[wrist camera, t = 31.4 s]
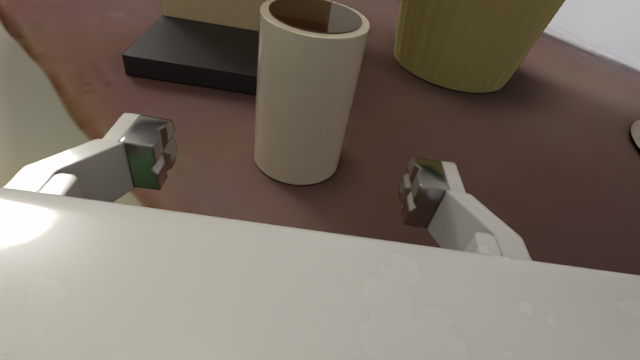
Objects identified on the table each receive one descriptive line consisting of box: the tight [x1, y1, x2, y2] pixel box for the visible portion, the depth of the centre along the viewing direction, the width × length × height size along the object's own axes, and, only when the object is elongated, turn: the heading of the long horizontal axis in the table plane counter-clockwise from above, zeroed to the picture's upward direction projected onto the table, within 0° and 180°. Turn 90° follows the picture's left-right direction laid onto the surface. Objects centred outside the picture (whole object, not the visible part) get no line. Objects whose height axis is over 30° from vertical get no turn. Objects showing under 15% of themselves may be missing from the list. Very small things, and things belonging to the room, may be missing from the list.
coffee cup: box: [253, 0, 370, 185], centre depth 21 cm, size 5×5×9 cm
